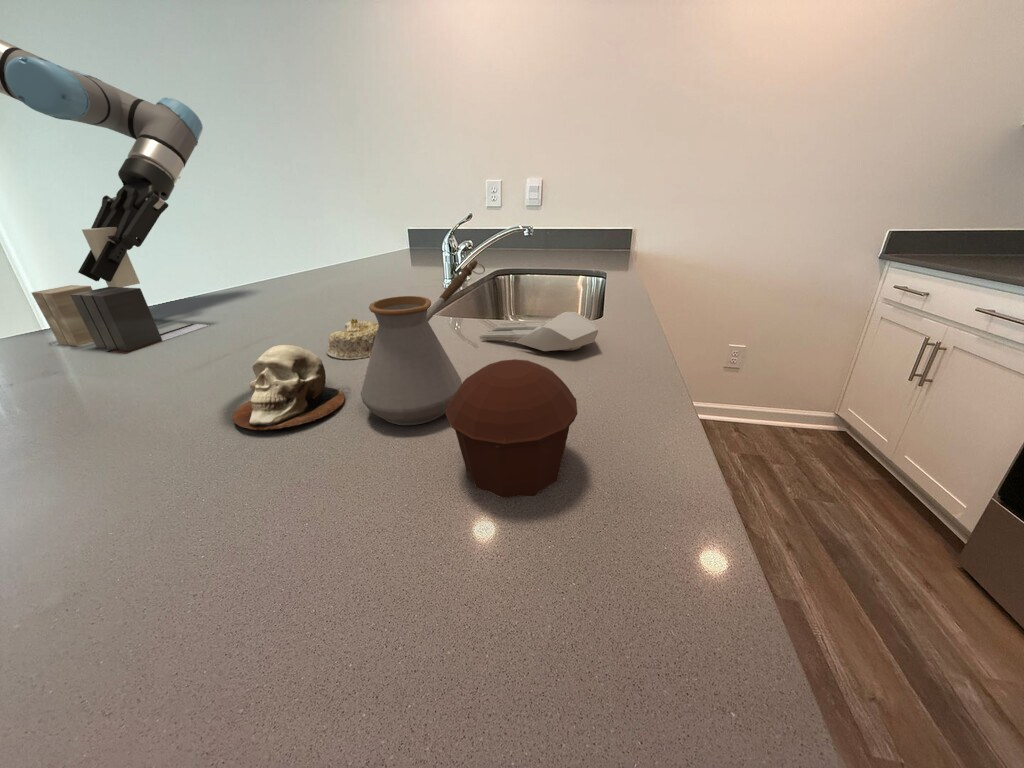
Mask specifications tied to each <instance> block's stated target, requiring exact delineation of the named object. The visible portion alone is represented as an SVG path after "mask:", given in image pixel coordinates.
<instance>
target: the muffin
mask: <svg viewBox="0 0 1024 768" xmlns="http://www.w3.org/2000/svg"><path fill="white" fill-rule="evenodd" d="M444 414H445V416H446V418H447V421H448V423H449V425H450V427H451V428H452V429H453V430H454V431H455V435H456V438H457V442H458V445H459V446H458V447H459V449H460V452H461V456H462V459H463V463H464V467H465V470H466V471H467V473H468V474H469V476H470V477H471V479H472V481H473V484H474V487H475V489H479V490H481V491H485V492H489V493H491V494H493V495H495V496H498V497H499V498H501V499H508V498H514V497H527V496H528V497H529V496H530V497H531V496H537V495H538V494H539V493H540V492H542V491H543V490H545V488H548V487H549V486H551V485H552V484H555V483H557V482H558V480H559V475H560V470H561V468H562V467H561V466H562V462H563V457H564V454H565V453H564V452H565V449H566V444H567V440H568V436H569V430H570V426H571V425H572V424H573V423H574V422H575V420H576V418H577V416H578V403H577V398H576V397H575V396H574V394H573V393H572V391H571V390H570V388H569V387H568V385H567V384H566V383H565V382H564V381H563V380H562V379H561V378H560V377H559V376H558V374H556V373H555V372H554V371H553V370H552V369H550V368H548V367H547V366H544V365H541V364H539V363H537V362H533V361H531V360H527V359H516V358H515V359H505V360H504V359H503V360H499V361H496V362H492V363H488V364H487V365H485V366H483V367H482V368H480V369H478V370H477V371H475V372H474V373H472V374H470V375H469V376H467V378H465V379H464V380H463V381H462V384H461V386H460V387H459V388H458V390H457V391H456V393H455V395H454V396H453V397H452V398H451V400H450V403H449V405H448V407H447V409H446V411H445V413H444Z"/></svg>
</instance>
